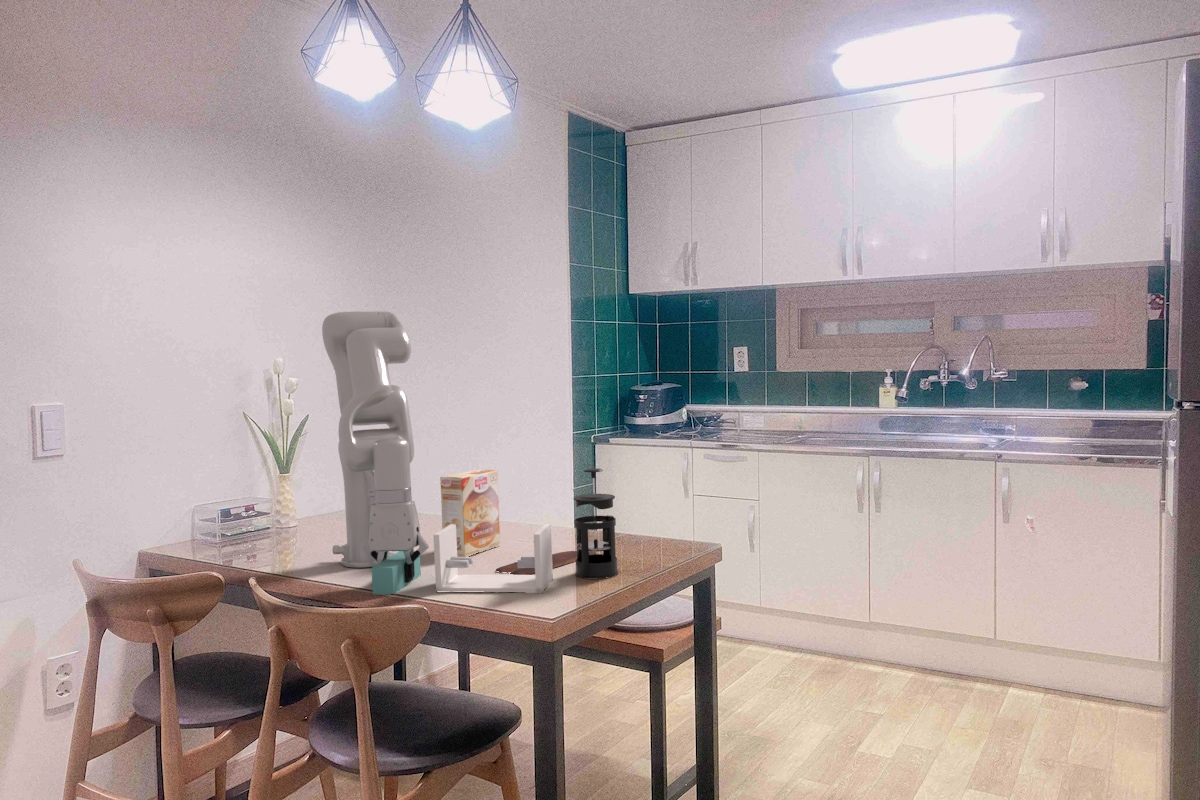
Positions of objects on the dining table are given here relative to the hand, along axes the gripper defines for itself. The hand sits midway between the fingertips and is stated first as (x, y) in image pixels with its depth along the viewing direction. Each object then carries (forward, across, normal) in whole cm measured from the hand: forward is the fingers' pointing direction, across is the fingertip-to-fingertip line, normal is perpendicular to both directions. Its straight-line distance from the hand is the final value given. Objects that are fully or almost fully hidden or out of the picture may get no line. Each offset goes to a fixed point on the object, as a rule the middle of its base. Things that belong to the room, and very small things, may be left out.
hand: (397, 580), depth 193 cm
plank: (+1, 0, 0) cm, 1 cm away
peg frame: (+1, +22, -1) cm, 22 cm away
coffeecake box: (+1, +7, +32) cm, 33 cm away
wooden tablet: (+2, +29, +20) cm, 35 cm away
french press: (+1, +42, +10) cm, 43 cm away
